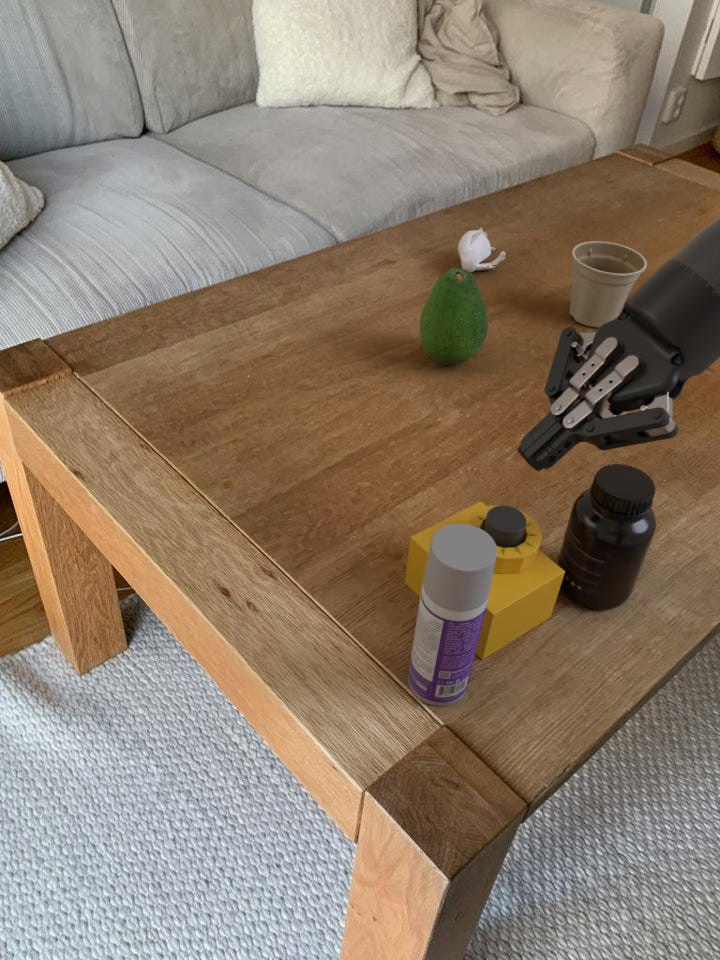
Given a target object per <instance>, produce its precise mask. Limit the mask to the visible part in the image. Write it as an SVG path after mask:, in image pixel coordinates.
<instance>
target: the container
mask: <svg viewBox="0 0 720 960" xmlns="http://www.w3.org/2000/svg"><path fill="white" fill-rule="evenodd" d="M496 556H497V546H496V543H495V541H494V540H493V538H492V537H491V536H490V535H489V534H488V533H487V532H485V531H484V530H482V529H480V528H478V527H475V526H472V525H468V524H450V525H447V526H444V527H442V528H440V529H439V530H437V531H436V532H435V534H434V535H433V537H432V539H431V544H430V549H429V554H428V559H427V564H426V569H425V574H424V580H423V585H422V589H421V596H420V597H419V601H418V609H417V616H416V623H415V630H414V635H413V642H412V649H411V654H410V662H409V669H408V675H407V682H408V686H409V688H410V691H412V693H413V695H415V696H416V698H418V699H419V700H420V701H422V702H423V703H425V704H427V705H431V706H434V707H435V706H436V707H447V706H451V705H454V704H455V703H457V702H459V701H460V700H461V699H462V698H463V697H464V696H465V694H466V692H467V689H468V686H469V681H470V677H471V674H472V671H473V670H472V669H473V665H474V662H475V658H476V649H477V645H478V640H479V636H480V632H481V628H482V624H483V620H484V615H485V611H486V607H487V603H488V597H489V592H490V587H491V582H492V577H493V572H494V567H495V561H496Z"/></svg>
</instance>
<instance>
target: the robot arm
mask: <svg viewBox="0 0 720 960" xmlns="http://www.w3.org/2000/svg"><path fill="white" fill-rule="evenodd" d="M560 333H561V334H560V337H559V340H558V342H557V343H558V344H557V346H556V350H555V353H554V355H553V360H552V363H551V366H550V369H549V373H548V376H547V380H546V382H545V386H544V394H545V395H546V396H547V397H548V401H549V403H550V410H549V412H548V413H547V414H546V416H544V417H543V418H542V419H541V420H540V421H539V422H538V423H536V425H534V426H533V427H532V428H531V430H530V431H528V432H527V433H526V434H525V435H524V436H523V437H522V440H521V441H520V445H519V446H518V447H517V453H518V454H519V455H520V456H521V458H522V459H523V460H524V462H526V463H527V464H528V465H529V467H531V468H533V469H534V470H535V471H536V472H540V471H542V470H547V469H550V468H552V467H554V465H556V464H557V463H558V462H559V461H561V459H562V458H563V457H564V456H566V455H567V454H568V453H569V452H570V451H571V450H573V448H574V447H575V446H577V445H579V444H581V443H588V444H590V445H593V446H595V447H596V448H597V449H598V450H599V451H608V450H614V449H620V448H625V447H631V446H635V445H642V444H646V443H647V444H648V443H652V442H653V443H654V442H659V441H664V440H669V439H673V438H674V437H676V436H677V435H678V433H679V430H680V429H679V426H678V424H677V423H676V422H675V419H674V400H676V399H677V398H678V397H679V396H680V395H681V394H682V392H683V390H684V387H685V385H686V383H687V382H689V380H690V379H691V378H693V377H694V376H695V377H696V376H700V375H702V374H703V373H704V372H705V371H706V370H708V368H709V367H711V366H712V365H713V364H714V363H715V362H716V361H717V360H719V359H720V215H719V216H717V217H716V218H715V219H714V220H712V221H711V222H709V223H708V224H707V225H706V226H704V227H702V228H701V229H700V230H699V231H698V232H696V233H695V234H694V235H693V236H692V237H690V239H689V240H688V241H687V242H686V243H685V244H684V245H683V246H681V247H680V248H679V249H678V250H677V251H676V252H675V253H674V254H673V255H671V257H670V258H668V259H667V261H665V263H664V264H662V266H660V267H659V268H658V269H657V270H656V271H655V272H654V273H652V274H651V276H650V277H648V279H646V281H644V282H643V283H642V284H641V285H640V286H639V287H638V288H637V289H636V290H635V291H634V292H633V293H632V294H631V295H629V296H628V297H627V299H626V301H625V303H624V305H623V307H622V310H621V312H620V314H619V316H618V317H617V318H615V319H613V320H611V321H609V322H607V323H604V324H603V325H601V326H600V327H599V328H597V329H596V331H589V332H588V331H587V332H578V330H577V329H576V328H575V326H567V327H565V328H564V329H562V331H561V332H560ZM590 386H591V387H592V388H590ZM606 403H608V404H609V405H606ZM637 410H639V411H637ZM632 411H633V412H632Z"/></svg>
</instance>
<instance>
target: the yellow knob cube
mask: <svg viewBox="0 0 720 960" xmlns="http://www.w3.org/2000/svg"><path fill="white" fill-rule="evenodd" d="M496 506H497V505H486V504H485V503H484V502H483V501H480V502H476V503H475V504H473V505H471V506H469V507H467V508H465V509H463V510H461V511H459V512H457V513H454V514H453V515H451V516H449V517H447V518H445V519H443V520H441V521H440V522H436V523H435V524H433V525H431V526H429V527H427V528H425V529H423V530H421V531H420V532H417V533H415V534H413V535H411V536H410V539H409V548H408V553H407V563H406V569H405V570H406V571H405V576H404V577H405V578H404V583H405V585H406V586H407V587H408V588H409V589H410V590H411V591H412V592H414V594H416V596H418V598H420V596H421V589H422V585H423V580H424V574H425V569H426V564H427V559H428V554H429V549H430V544H431V539H432V537H433V535H434V534H435V532H436V531H437V530H439V529H440V528H442V527H444V526H447V525H450V524H468V525H472V526H475V527H478V528H480V529H482V530H484V526H485V521H486V516H487V513H488V511H489V510H490V509H492V508H494V507H496ZM502 506H505V505H503V504H502ZM518 510H519V511H520V512H522V513H523V515H524V516H525V518H526V527H525V531H524V535H523V539H522V541H521V543H520V544H518V545H517V546H515V547H512V548H502V547H499V546H497V556H496V561H495V567H494V572H493V577H492V582H491V587H490V592H489V597H488V603H487V607H486V611H485V615H484V620H483V624H482V628H481V632H480V636H479V640H478V645H477V649H476V653H475V655H476V656H477V657H479V659H481V660H482V661H483V660H486V659H487V658H488V657H490V656H491V655H492V654H494V653H496V652H497V651H498V650H501V649H502V648H504V647H506V646H507V645H509V644H510V643H511V642H514V641H515V640H516V639H518V638H520V637H521V636H523V635H525V634H526V633H528V632H529V631H531V630H532V629H534V628H535V627H537V626H539V625H540V624H542V623H543V622H545V621H547V620H549V619H550V618H552V615H553V611H554V608H555V605H556V601H557V599H558V595H559V592H560V590H561V589H560V586H561V583H562V580H563V577H564V574H565V571H564V570H563V569H562V568H560V567H559V566H558V565H557V562H554V561H553V560H552V559H551V558H550V557H548V555H546V554H545V553H544V552H543V551H542V550H540V549H541V544H542V541H543V535H542V532H541V528H540V527H539V524H538V522H537V521H536V520H534V519H533V518H532V517H531V516H530V515H528V514H527V513H526V512H524V511H522V510H520V509H518Z"/></svg>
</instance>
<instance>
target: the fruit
mask: <svg viewBox="0 0 720 960" xmlns="http://www.w3.org/2000/svg"><path fill="white" fill-rule="evenodd" d="M420 314H421V315H420V321H419V322H420V323H419V332H420V333H419V334H420V340H421V344H422V348H423V349H424V351H425V353H426V355H427V356H428V357H429V358H430V359H431V360H432V361H434V362H436V363H438V364H440V365H444V366H456V365H461V364H463V363H465V362H468V360H470V359H472V358H473V357H475V355H476V354H477V353H478V352H479V350H480V349H481V348H482V347H483V344H484V343H485V340H486V337H487V334H488V328H489V316H488V310H487V307H486V304H485V301H484V299H483V295H482V293H481V290H480V287H479V285H478V283H477V281H476V279H475V276H474V275H472V272H469V271H468V270H465V269H462V268H452V267H451V268H450V269H448V270H447V271H445V272H444V273H442V274H441V275H440V276H438V277H437V279H436V281H435V284H434V286H433V287H432V289H431V291H430V294H429V296H428V298H427V299H426V301H425V303H424V305H423V308H422V311H421V313H420Z"/></svg>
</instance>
